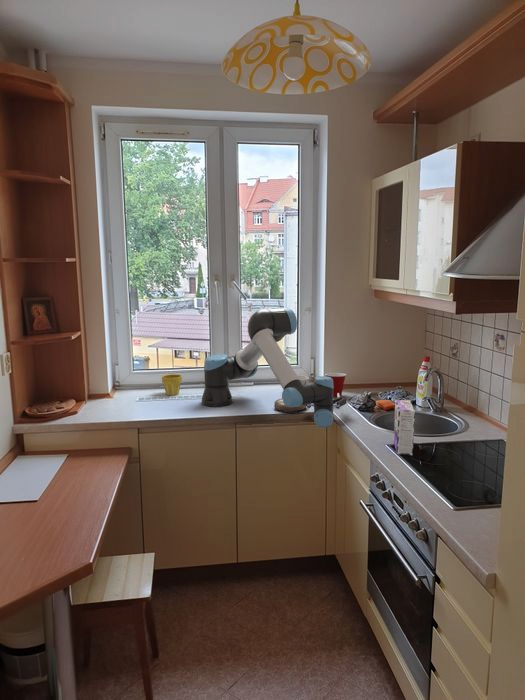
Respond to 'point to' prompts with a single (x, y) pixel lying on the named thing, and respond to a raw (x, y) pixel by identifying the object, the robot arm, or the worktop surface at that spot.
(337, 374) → the plastic cup
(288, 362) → the robot arm
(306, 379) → the teacup
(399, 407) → the candy box
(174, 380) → the plant pot
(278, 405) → the disc
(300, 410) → the turntable base
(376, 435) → the worktop surface
